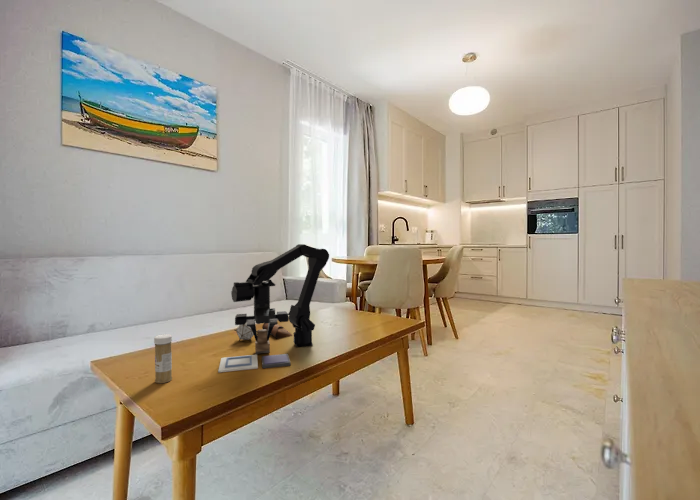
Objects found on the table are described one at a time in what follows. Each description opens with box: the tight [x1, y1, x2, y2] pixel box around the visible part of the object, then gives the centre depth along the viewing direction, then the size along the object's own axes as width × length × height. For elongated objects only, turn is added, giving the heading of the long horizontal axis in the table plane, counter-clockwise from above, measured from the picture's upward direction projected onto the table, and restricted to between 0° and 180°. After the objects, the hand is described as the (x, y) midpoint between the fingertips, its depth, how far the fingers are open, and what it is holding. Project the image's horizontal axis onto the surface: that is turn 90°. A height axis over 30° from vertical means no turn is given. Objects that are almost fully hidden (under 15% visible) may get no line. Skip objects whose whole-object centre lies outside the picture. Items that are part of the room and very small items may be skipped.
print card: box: [217, 354, 259, 373], centre depth 115 cm, size 12×12×1 cm
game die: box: [233, 323, 257, 342], centre depth 141 cm, size 9×8×10 cm
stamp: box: [254, 328, 271, 355], centre depth 126 cm, size 5×5×8 cm
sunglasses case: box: [261, 323, 293, 339], centre depth 153 cm, size 18×7×7 cm
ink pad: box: [261, 353, 292, 369], centre depth 116 cm, size 9×9×1 cm
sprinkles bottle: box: [153, 333, 173, 384], centre depth 101 cm, size 5×5×13 cm
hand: (262, 341), depth 126 cm, fingers closed on stamp, 4 cm apart
